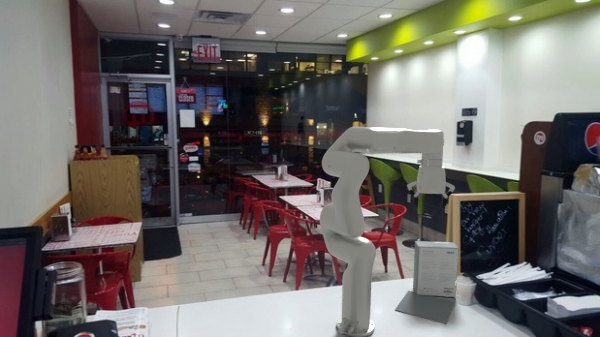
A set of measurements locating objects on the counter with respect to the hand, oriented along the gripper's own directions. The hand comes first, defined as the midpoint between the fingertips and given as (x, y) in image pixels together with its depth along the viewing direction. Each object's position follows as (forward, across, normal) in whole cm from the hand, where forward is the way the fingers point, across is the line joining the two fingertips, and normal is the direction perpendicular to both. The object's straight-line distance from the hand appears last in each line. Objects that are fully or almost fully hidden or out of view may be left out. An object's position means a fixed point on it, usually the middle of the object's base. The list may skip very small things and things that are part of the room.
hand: (429, 207), depth 153 cm
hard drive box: (+36, +3, +3) cm, 36 cm away
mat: (+36, -1, -10) cm, 37 cm away
